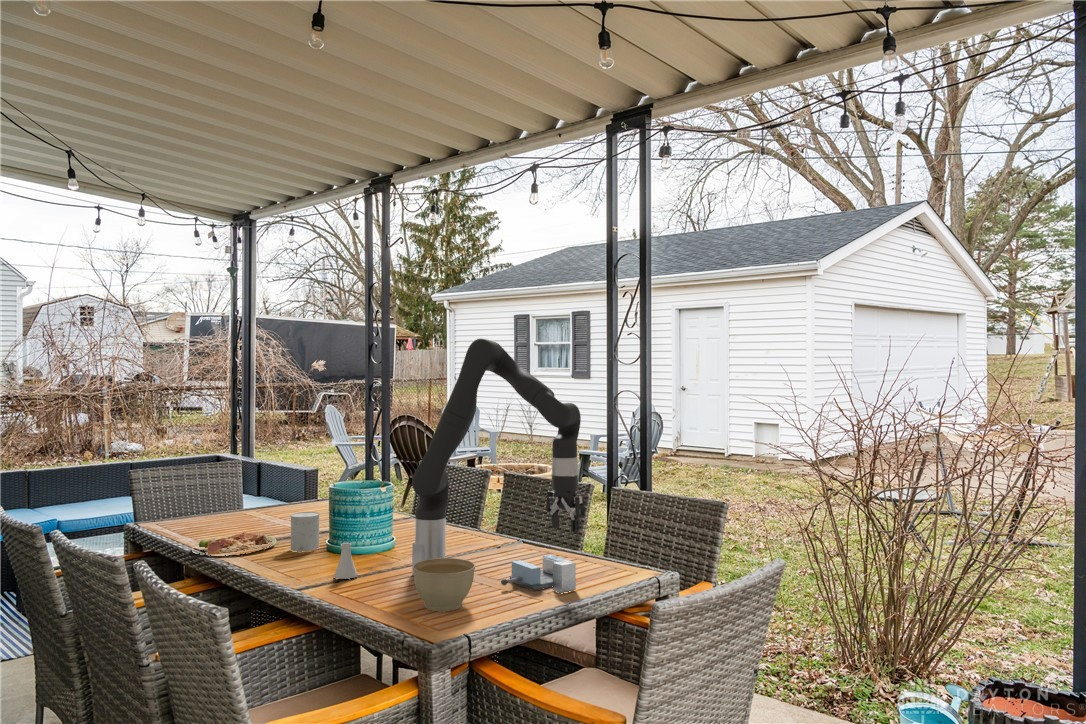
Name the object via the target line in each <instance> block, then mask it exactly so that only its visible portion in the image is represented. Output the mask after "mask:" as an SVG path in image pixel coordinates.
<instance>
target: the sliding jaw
mask: <svg viewBox="0 0 1086 724" xmlns="http://www.w3.org/2000/svg"><path fill="white" fill-rule="evenodd" d="M541 570H542V569H541V566H538V565H535V564H532V563H529V562H526V561H523V560H521V559H519V560H513V561H511V576H512V577H513V579H510V578H509V579H506V578H502V579H500V580H501V582H500V584H501V585H502V586H506V585H508V584H510V583H512V582H516V581H523V582H526V583H528V584H531V585H534V584H538V583H540V582H541Z"/></svg>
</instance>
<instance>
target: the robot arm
mask: <svg viewBox="0 0 1086 724" xmlns="http://www.w3.org/2000/svg"><path fill="white" fill-rule="evenodd" d="M486 372H492V373H494V375H497V376H498V377H500V378H502V379H503V380H505V381H506V382H507V383H508V384H509V385H510V386H511V387H512V388H513V389H514V391H515V392H516V394H518V395H519V396H520V397H521V398H522V399H524V401H526V402H527V403H528V404H530V405H531V406H532V407H533V408H534V409H536V410H537V412H539V414H541V416H542V417H543V418H544V419H545V421H546V422H547V423H549V424H550V425H551V426H553V427H555V428H558V429H557V435H556V436H555V437H554V438H553V440H552V446H551V447H552V448H551V449H552V450H551V451H552V453H551V454H552V458H551V461H552V462H551V489H552V490H549V491H547V492H546V505H545V508H546V512H547V513H550V515H551V528H552V529H559V528H560V512H561V510H565V511H566V513H567V514H569V515H570V519H571V521H570V532H571V533H572V534H578V533H580V520H581V519H582V518H583V519H584V518H586V511H585V509H586V508H585V507H586V506H585V497H584V496H583V495H579V496H577V494H576V492H577V491H578V490H579V462H578V443H577V442H578V438H579V435H580V434H579V433H580V427H581V419H582V417H581V411H580V409H579V407H578V406H577V405H576V404H575V403H572V402H561V401H560V400H558V398H556V397H555V392H553V390H552V389H551V388H549V387H548V386H547V385H545V384H544V383H543V382H542V381H540V379H538V378H537V377H535V376H534V375H532V374H531V373H529V372H528V370H525V368H523V367H522V366H521V365H520V364H519V363H518V362H516V361H515V360H514V359H513V357H511V355H510V354H509V353H508V351H506V350H505V348H503V346H502V345H501V344H500V343H498V342H497V341H494V340H491V339H487V338H483V337H482V338H481V337H480V338H477V339H475V340H474V341H472V343H470V344H469V346H468V348H467V350H466V353H465V356H464V359H463V362H462V365H461V368H460V372H459V374H458V377H457V380H456V382H455V385H454V387H453V388H452V392H451V393H450V396H449V399H448V400H447V403H446V405H445V407H444V409H443V411H442V413H441V416H440V419H439V421H438V423H437V426H436V429H435V431H434V433H433V436H432V438H431V440H430V444H429V446H428V448H427V450H426V452H425V454H424V456H423V457H422V459H421V461H420V462H419V465H418V466H417V468H416V470H415V471H414V473H413V475H412V481H411V485H412V488H413V491H414V493H415V494H416V495H417V496H418V497H419V499H418V504H417V506H416V507H415V511H414V515H415V517H414V519H415V520H414V523H415V525H414V538H415V539H414V542H413V543H412V549H411V550H412V552H411V553H412V556H411V558H412V563H411V564H412V565H411V569H412V570H411V571H412V572H411V574H412V575H413V576H414V571H413V565H414V564H416V563H418V562H420V561H423V560H428V559H436V558H446V543H447V541H446V539H447V538H446V536H447V535H446V532H447V531H446V527H447V521H446V520H447V519H446V516H447V509H448V505H449V487H450V486H449V485H450V483H449V475H448V472H447V470H446V468H447V465H448V463H449V461H450V459H451V457H452V455H453V454H454V452H455V451H456V450H457V448H458V447H459V446H460V444H461V443H462V441H463V440H464V439H465V437H466V435H467V433H468V432H469V430H470V427H471V425H472V423H473V421H474V418H475V416H476V412H477V404H478V403H477V399H478V396H477V395H478V389H479V386H480V383H481V382H482V379H483V377H484V375H485V373H486Z"/></svg>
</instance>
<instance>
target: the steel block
mask: <svg viewBox="0 0 1086 724" xmlns="http://www.w3.org/2000/svg"><path fill="white" fill-rule="evenodd" d="M576 576H577V563H576V562H574V561H572V560H569V559H566V560H564V561H559V562H553V587H552V591H553V590H554V591H557V592H559V593H564V592H569V591H574V590H576V591H577V586H576V585H577V584H576V583H577V577H576ZM554 591H553V592H554ZM557 592H556V593H557ZM559 593H558V594H559Z"/></svg>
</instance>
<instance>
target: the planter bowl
mask: <svg viewBox="0 0 1086 724" xmlns="http://www.w3.org/2000/svg"><path fill="white" fill-rule="evenodd" d="M475 569H476V564H475V563H474V562H473V561H470V560H467V559H462V558H453V557H445V558H436V559H428V560H423V561H420V562H418V563H416V564H414V565H413V571H414V575H413V578H414V584H415V588H416V590H417V593H418V595H419V596H420V598H421V600H422V601H423V603H424V607H425V608H426V610H428V611H432V612H439V613H442V612H443V613H446V612H453V611H457V610H458V609H460V608H462V605H463V601H464V600H466V598H467V597H468V595H469V592H470V590H471V589H472V586H473V582H474V578H475V577H474V576H475Z"/></svg>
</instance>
